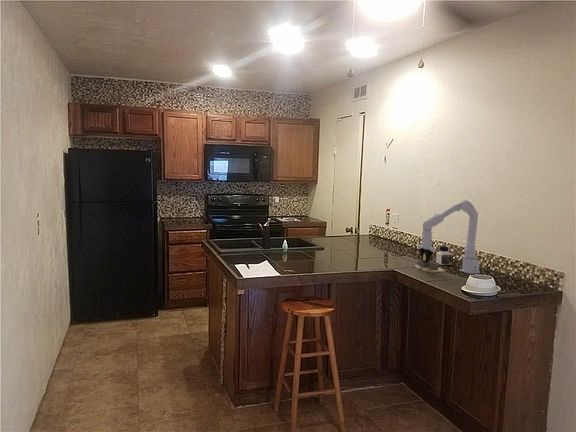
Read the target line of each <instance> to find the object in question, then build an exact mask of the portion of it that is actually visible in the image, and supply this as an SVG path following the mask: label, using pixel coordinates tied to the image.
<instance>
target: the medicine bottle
mask: <svg viewBox="0 0 576 432" xmlns="http://www.w3.org/2000/svg"><path fill="white" fill-rule="evenodd" d="M435 264H438V265H441V266H448V265H452V253H450V246H448V245H440V246H439V251H437V252H436V257H435Z"/></svg>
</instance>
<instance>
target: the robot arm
mask: <svg viewBox="0 0 576 432" xmlns="http://www.w3.org/2000/svg"><path fill="white" fill-rule="evenodd" d="M462 211H463V212H465V213H466V214H467V215H468V217H469V219H468V228H467V237H466V243H465V247H464V249H463V252H464V255H463V256H462V269H461V268H460V269H459V271H460V272H462V273H463V272H464V273H467V274H469V275H473V274H480V273H481V272H480V265H481V264H480V263H481V262H480V260H478V259H477V252H476V237H477V227H478V219H479V212H478V210H477V209H476V208H475V206H474V205H473V204H472V202H470V201H469V200H467V199H463V200H461V201H459V202H457V203H455V204H453V205H451V206H450V207H449V208H448V209H446V210H444V211H443V212H441V213H435V214H433V216H432V217H430V218H427V220H424V222H423V223H422V233H421V244H417V248H418V251H419V254H420V257H421V258H420V259H421V260H423V253H425V256H426V262H429V261H431V257H432V255H433V254H434V253H435V252H436V248H434V247H432V237H433V232H432V231H433V230H432V229H433V227H436V226H438V225H439V224H441V223H442V222H444V219H445V218H446V217H448V216H450V215H452V214H453V213H455V212H462Z"/></svg>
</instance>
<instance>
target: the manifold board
mask: <svg viewBox="0 0 576 432" xmlns="http://www.w3.org/2000/svg"><path fill="white" fill-rule="evenodd" d="M412 267H413V268H416V269H419V270H421V271H424V272H427V273H430V274H431V273H445V272H446V269H443V268H440V267H439V264H438V263H436V262H435V263H434V261H431V260H430V261H429V262H426V263H424V262H423V260H422V259H420V260H417V263H416V264H413V266H412Z"/></svg>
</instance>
